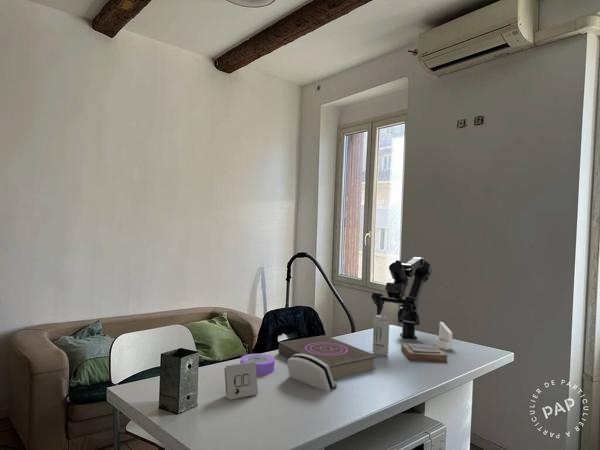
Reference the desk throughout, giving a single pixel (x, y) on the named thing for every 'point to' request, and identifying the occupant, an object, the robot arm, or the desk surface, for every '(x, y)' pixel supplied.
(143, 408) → the desk surface
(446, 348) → the white angled block
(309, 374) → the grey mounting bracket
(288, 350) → the book
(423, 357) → the brown square frame
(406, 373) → the desk surface
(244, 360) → the masking tape
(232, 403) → the desk surface
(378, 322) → the energy drink can
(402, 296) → the robot arm
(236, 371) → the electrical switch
